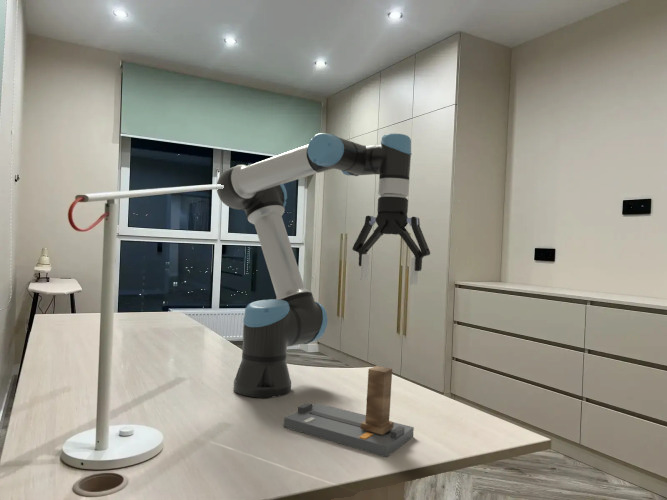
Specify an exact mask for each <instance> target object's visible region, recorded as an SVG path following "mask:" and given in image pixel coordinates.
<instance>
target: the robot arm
mask: <svg viewBox="0 0 667 500" xmlns="http://www.w3.org/2000/svg"><path fill="white" fill-rule="evenodd" d="M411 157H412V139H411V137H410V136H409V135H407V134H403V133H386V134H384V135H382V137H381V140H380V144H374V145H373V144H372V145H363V144H360V143H356V142H353V141H350V140H349V139H348V140H347V139H345V138H342V137H338V136H337V135H335V134H331V133H325V132H320V133H316V134H315V135H314V136H313V137H312V138H311V139H310V140H309V142H308V144H306V145H303V146H300V147H298V148H294V149H292V150H288V151H286V152H282V153H281V154H278V155H274V156H272V157H269V158H266V159H263V160H261V161H257V162H255V163H252V164H248V165H246V164H237V165H236V166H232V167H230V168H228V169H226V170H225V171H223V172H222V173H221V174H220V176H219V177H218V180H217V183H216V185H217V184H221V185H224V188H223V189H218V190H217V189H216V193H217V196H218V198H219V199H220V201H221V202H222V204H224V205H225V206H226V207H228V208H231V209H234V210H240V211H244V212H245V215H246V217H247V221H248V222H249V223H250V224H252V225H254V228H255V230H256V234H257V238H258V241H259V244H260V247H261V251H262V253H263V257H264V260H265V264H266V267H267V270H268V273H269V276H270V279H271V284H272V286H273V290H274V293H275V296H276V299H275V298H274V299H273V298H271V299H270V298H269V299H262V300H256V301H252V302H251V303H250V302H249V303H248V304H247V305H246V306H245V309H244V317H243V321H242V322H243V326H242V329H243V332H242V352H241V355H242V356H241V362H240V364H239V366H238V369H237V372H236V375H235V377H234V379H233V391H234V392H235V393H236V394H238V395H241V396H244V397H250V398H261V399H262V398H263V399H264V398H265V399H267V398H276V397H283V396H286V395H288V394H289V393H291V391H292V380H291V377H290V372H289V368H288V364H287V351H288V347H293V346H298V345H308V344H310V343H313V342H316V341H318V340H320V339H321V338H322V337H323V335H324V334H325V333H326V329H327V327H328V319H329V317H328V313H327V310H326V308H325V306H323V304H320V303H319V302H318V301H315V298H314V295H313V292H312V291H310V290H309V289H306V288H305V285H304V282H303V279H302V275H301V273H300V270H299V267H298V263H297V260H296V257H295V254H294V251H293V247H292V245H291V241H290V237H289V236H288V232H287V229H286V226H285V223H284V219H283V215H284V213H285V211H286V210H285V207H286V205H287V199H288V194H287V189H286V187H285V185H284V184H287V183H290V182H293V181H297V180H300V179H303V178H306V177H309V176H312V175H316V174H319V173H323V172H326V171H329V170H339V171H341V172H342V174H344V175H345V176H353V177H359V176H371V175H378V177H379V179H378V180H379V181H378V193H377V195H379V197H378V198H377V215H376V217H374V216H372V215H366V216H365V219H364V224H363V226H362V229H361V231H360V232H359V234H358V236H357V238H356V240H355V242H354V244H353V247H352V251H354V252H356V253H358V267H360V280H361V281H365V280H367V281H368V280H369V269H370V268H369V265H370V254H368V252H369V251H370V250H371V248H372V247H373V246H374V245H375V244H376V242H377V241H379V239H380V238H381V237H382V236H383V235H395V236H397V235H399V236H400V237H401V239H402V240H403V241H404V243H405V245H406V246H407V247H408V248H409V250H410V251H411V253H412V254H413V255H414V256H413V257H411V261H410V263H411V264H410V278H409V279H410V280H409V285H412V286H414V285H418V276H419V272H421V271H422V267H423V266H422V265H423V258H424V257H427V256H430V255H431V251H430V249H429V246H428V243H427V241H426V238H425V235H424V233H423V231H422V228H421V226H420V225H421V224H420V218H419V217H418V216H412V217H408V210H409V209H408V208H409V199H408V198H407V197H408V196H409V190H410V170H411V160H412V159H411ZM375 224H377V227H376V228H375V229H374V230H373V233H372V234H371V235H370V233H371V231H372V229H373V227H374V226H375ZM407 225H409V227H411V229H412V232H413V235H414V237H415V239H416V242H417V244H418V245H417V244H416V242H415V240H414V239H413V238H412V236H411V235H410V233H409V231H408V230H407V229H406V226H407ZM369 235H370V236H369ZM368 236H369V237H368Z"/></svg>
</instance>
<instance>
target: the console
mask: <svg viewBox="0 0 667 500" xmlns="http://www.w3.org/2000/svg"><path fill="white" fill-rule="evenodd" d="M365 420H366V414H364V413H359V412H355V411H351V410H346V409H343V408H339V407H335V406H331V405H326V404H322V403H319V402H317V403H315V404H313V403H311V402H307V403H304V404H302V405H299V406H297V412H294V413H292V414H290V415H288V416H285V417H284V423H283V426H284V427H283V428H286V429H290V430H294V431H296V432H300V433H303V434H307V435H310V436H312V437H317V438H320V439H323V440H327V441H330V442H333V443H338V444H341V445H345V446H347V447H351V448H354V449H358V450H361V451H365V452H368V453H371V454H373V455H374V454H375V455H378V456H381V457H384V458H388V457H389V456H390V455H391V454H393V453H394V452H395V451H397V450H398V449H399V448H400V447H401V446H403V445H405V444H406V443H407V442H408V441H410V440H411V439H413V438H414V429H415V427H414V426H410V425H406V424H402V423H399V422H394V421H392V420H391V422H394V425H393V428H392V429H391V430H389V431H388V432H386V433H385V434H384V435H381V434H377V433H373V432H370V431H366V430H362V429H360V428H361V423H362V422H364V421H365Z"/></svg>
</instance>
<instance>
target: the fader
mask: <svg viewBox="0 0 667 500" xmlns="http://www.w3.org/2000/svg"><path fill="white" fill-rule="evenodd" d="M367 372H368V374H367V390H366V405H365V406H366V410H365V415H366V420H365V421H364V422H362V423H361V428H360V429H362V430H366V431H370V432H373V433H377V434H381V435H384V434H385V433H386V432H388V431H389V430H391V429H392V428H393V425H394V421H392V420H391V421H392V422H391V421H390V417H391V416H390V414H391V413H390V412H391V396H392V379H393V378H392V377H393V368H391V367H390V368H388V367H384V366H379V365H376V366H373V367H370V368H368V370H367Z"/></svg>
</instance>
